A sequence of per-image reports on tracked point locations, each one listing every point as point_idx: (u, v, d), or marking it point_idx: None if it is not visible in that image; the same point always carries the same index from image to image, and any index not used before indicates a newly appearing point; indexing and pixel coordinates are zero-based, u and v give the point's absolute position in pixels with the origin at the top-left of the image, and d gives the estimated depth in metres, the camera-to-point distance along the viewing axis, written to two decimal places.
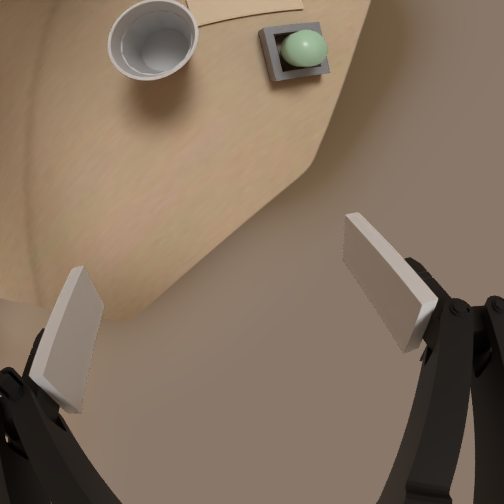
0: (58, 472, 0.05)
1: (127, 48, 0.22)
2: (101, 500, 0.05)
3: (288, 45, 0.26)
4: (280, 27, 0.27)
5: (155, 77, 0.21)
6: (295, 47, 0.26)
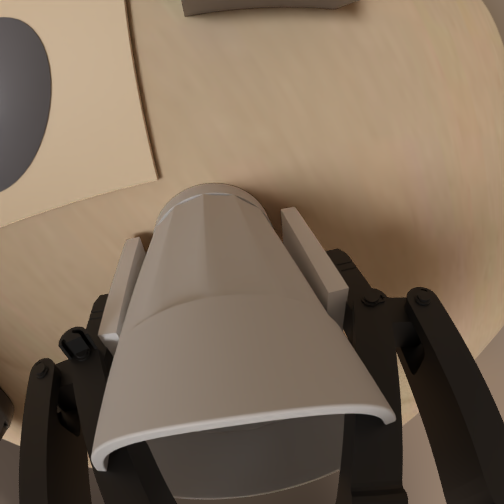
0: None
1: None
2: (150, 482, 0.06)
3: None
4: None
5: None
6: None
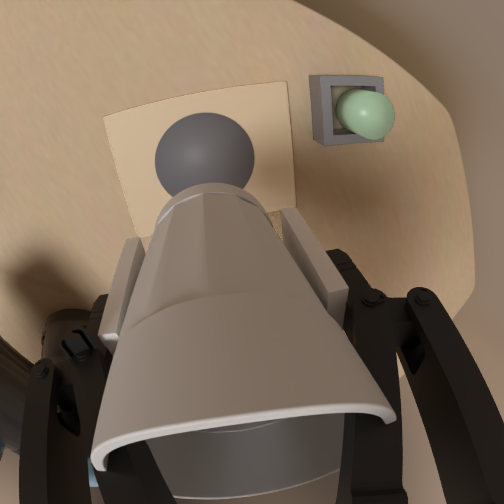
0: None
1: None
2: (150, 482, 0.06)
3: (368, 138, 0.24)
4: (325, 125, 0.26)
5: None
6: (372, 132, 0.23)
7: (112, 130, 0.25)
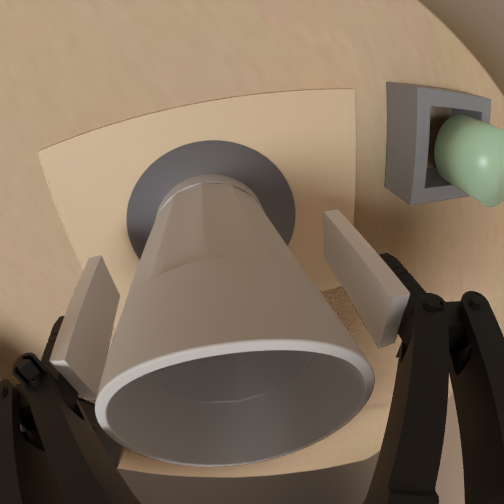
0: (74, 463, 0.05)
1: (218, 368, 0.13)
2: (115, 493, 0.05)
3: (485, 205, 0.12)
4: (416, 173, 0.15)
5: (360, 405, 0.08)
6: (492, 195, 0.12)
7: (53, 174, 0.14)
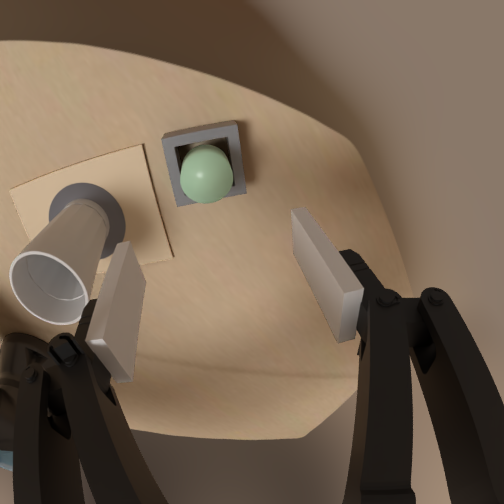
0: (102, 450, 0.06)
1: (69, 287, 0.26)
2: (141, 484, 0.06)
3: (204, 202, 0.25)
4: (174, 187, 0.28)
5: (84, 291, 0.21)
6: (207, 195, 0.25)
7: (16, 201, 0.27)
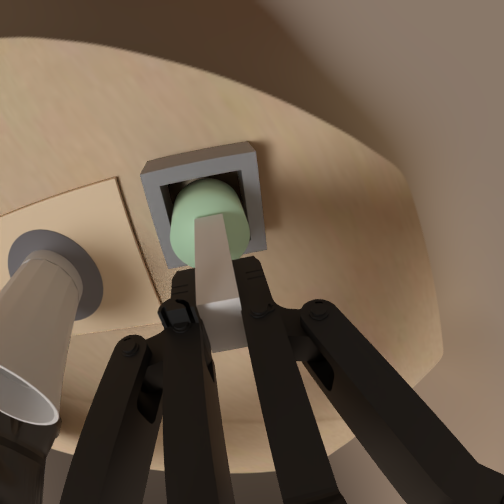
0: (193, 431, 0.06)
1: None
2: (220, 473, 0.06)
3: None
4: (163, 243, 0.19)
5: (49, 403, 0.13)
6: None
7: None
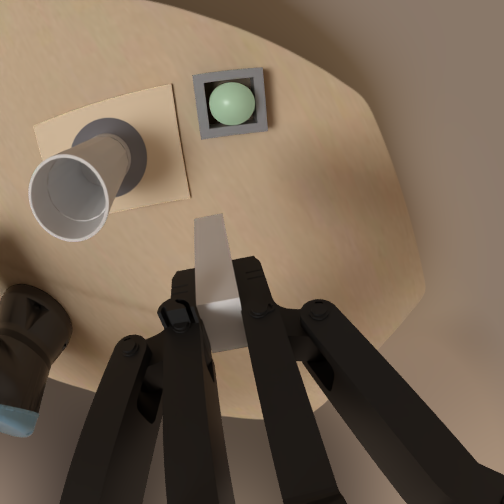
0: (193, 431, 0.06)
1: (86, 210, 0.26)
2: (220, 473, 0.06)
3: (228, 124, 0.28)
4: (200, 120, 0.28)
5: (106, 198, 0.22)
6: (231, 118, 0.27)
7: (39, 136, 0.27)
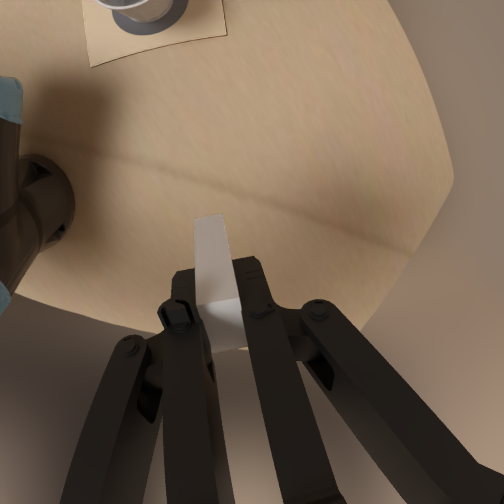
0: (193, 431, 0.06)
1: None
2: (220, 473, 0.06)
3: None
4: None
5: None
6: None
7: None
